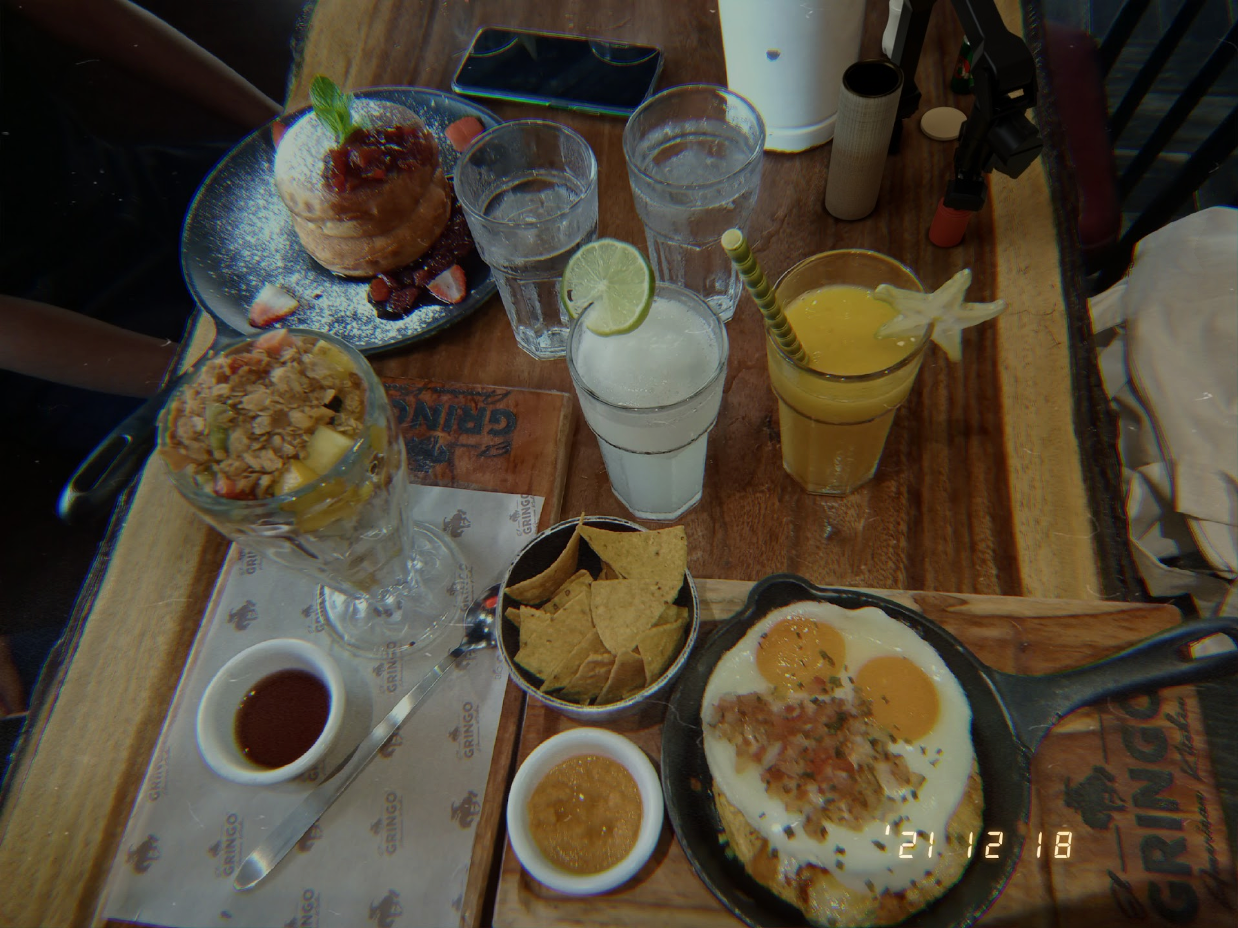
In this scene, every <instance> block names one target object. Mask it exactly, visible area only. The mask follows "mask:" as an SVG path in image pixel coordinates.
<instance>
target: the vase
mask: <svg viewBox="0 0 1238 928" xmlns="http://www.w3.org/2000/svg"><path fill="white" fill-rule="evenodd" d="M903 81H904V74H903V72H902V70H901V68H900V67H899V66H898V65H897V64H895V63H893V62H891V61H890V60H889V59H886V58H880V57H869V58H864V59H860V60H858V61H855V62H853V63H852V64H851V65H849V66H848V67H847V68H846V69H845V70H844V72H843V73H842V77H841V84H840V89H839V90H840V91H839V97H838V104H837V111H836V118H835V126H834V131H833V140H832V147H831V152H830V153H831V154H830V161H829V169H828V173H827V174H828V175H827V183H826V189H825V197H824V205H825V208H826V210H827V212H828V213H829V214H830V215H832V217H835V218H837V219H839V220H843V221H857V220H861V219H863V218H866V217H868V216H869V215H870V214H871V213H872V212H873V211H874V209H875V208H876V204H877V201H878V197H879V193H880V188H881V183H882V179H883V176H884V170H885V166H886V162H887V157H888V154H889V153H888V148H889V144H890V140H891V135H892V131H893V126H894V122H895V117H896V113H897V108H898V104H899V99H900V95H901V91H902V86H903Z"/></svg>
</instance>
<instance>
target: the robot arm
mask: <svg viewBox="0 0 1238 928" xmlns="http://www.w3.org/2000/svg"><path fill="white" fill-rule="evenodd" d="M937 1H938V0H903V5H902V10H901V14H900V19H899V23H898V28H897V32H896V37H895V41H894V46H893V50H892V55H891V59H890V58H889V59H890V60H889V61H891V62H893V63H895V64H897V65H898V66H899V67H900V68H901V70H902V72H903V74H904V81H903V86H902V91H901V95H900V99H899V104H898V108H897V113H896V117H895V122H894V126H893V131H892V135H891V140H890V144H889V148H888V153H887V154H897V153H898V152H899V147H898V145H899V144H900V143H901V140H902V136H903V131H904V120H906V119H907V120H908V119H911V118H912V115H914V114H916V112H917V111H919V109H920V108H919V106H920V101H921V99H922V95H923V94H922V92H921V91H920V89H919V86H918V85H917V83H916V81H915V78H916V74H917V70H918V66H919V62H920V60H921V59H920V58H921V55H922V50H923V47H924V44H925V43H924V42H925V40H926V35H927V32H928V28H929V24H930V20H931V16H932V12H933V9H934V6H935V4H936V2H937ZM949 1H950V4H951V5H952V7H953V10H954V12H955V15H956V17H957V19H958V21H959V24H960V26H961V28H962V31H963V33H964V35H966V38H967V40H968V42H969V44H970V47H971V49H972V53H973V59H972V64H971V69H970V71H971V75H972V78H973V81H974V84H973V85H970V86H969V90H970V93H971V94H972V96H973V97H974V101H973V104H972V106H971V110H970V113H969V116H968V118H967V120H965V121H963V122H962V123H961V126H960V129H959V133H958V137H957V138H956V142H959V143H958V145H957V147H955V148H954V152H953V157H952V162H953V163H952V164H953V171H954V178H953V179H948V180H947V184H946V189H945V193H944V196H943V197H944V201H943V205H944V206H945V207H946V208H953V210H957V211H959V210H968V211H973V212H976V213H978V212H980V211H982V210H983V208H984V205H985V203H986V201H987V200H986V199H987V194H988V188H989V186H988V185H987V184H986V183H985V180H986V179H985V176H983V175H982V173H983V174H990V175H992V173H993V171H994V170H995V171H996V172H999V173H1001V174H1003V175H1006V176H1008V177H1009V178H1010V179H1012V180H1017V179H1018V178H1019V177H1020V176H1021V175H1022V174H1023V173H1024V172H1025V171H1026V170H1027V169H1029V167H1030V166H1031V165H1032V163H1033V162H1035V160H1036V159H1038V157H1039V156H1040V155H1041V154H1042V152H1043V151H1044V148H1045V145H1044V144H1045V143H1044V139H1043V137H1041V136H1040V134H1039V133H1040V129H1039V128H1038V127H1037V125H1036V124H1035V123H1032V122H1031V120H1030V119H1029V118H1028V117H1027V116H1026V113H1027V111H1028V110H1029V109H1032V108H1034V107H1037V106H1038V93H1039V91H1040V90H1039V84H1038V77H1037V63H1036V59H1035V57H1034V55H1033V52H1032V51H1031V49H1030V48H1029V47H1028V45H1027V44H1026V41H1025V40H1024V38H1022V37H1020V36H1019V35H1017V34H1015V33H1013V32H1011V31H1010V30H1009V29H1008V28H1007V26H1006V24H1005V22H1004V20H1003V18H1002V15H1001V13H1000V11H999V9H998V7H997V4H996V2H995V0H949ZM1021 90H1022V93H1023V94H1020V95H1017V96H1015V97H1011V95H1010V94H1013V93H1015V92H1018V91H1021ZM960 178H962V179H960Z"/></svg>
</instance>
